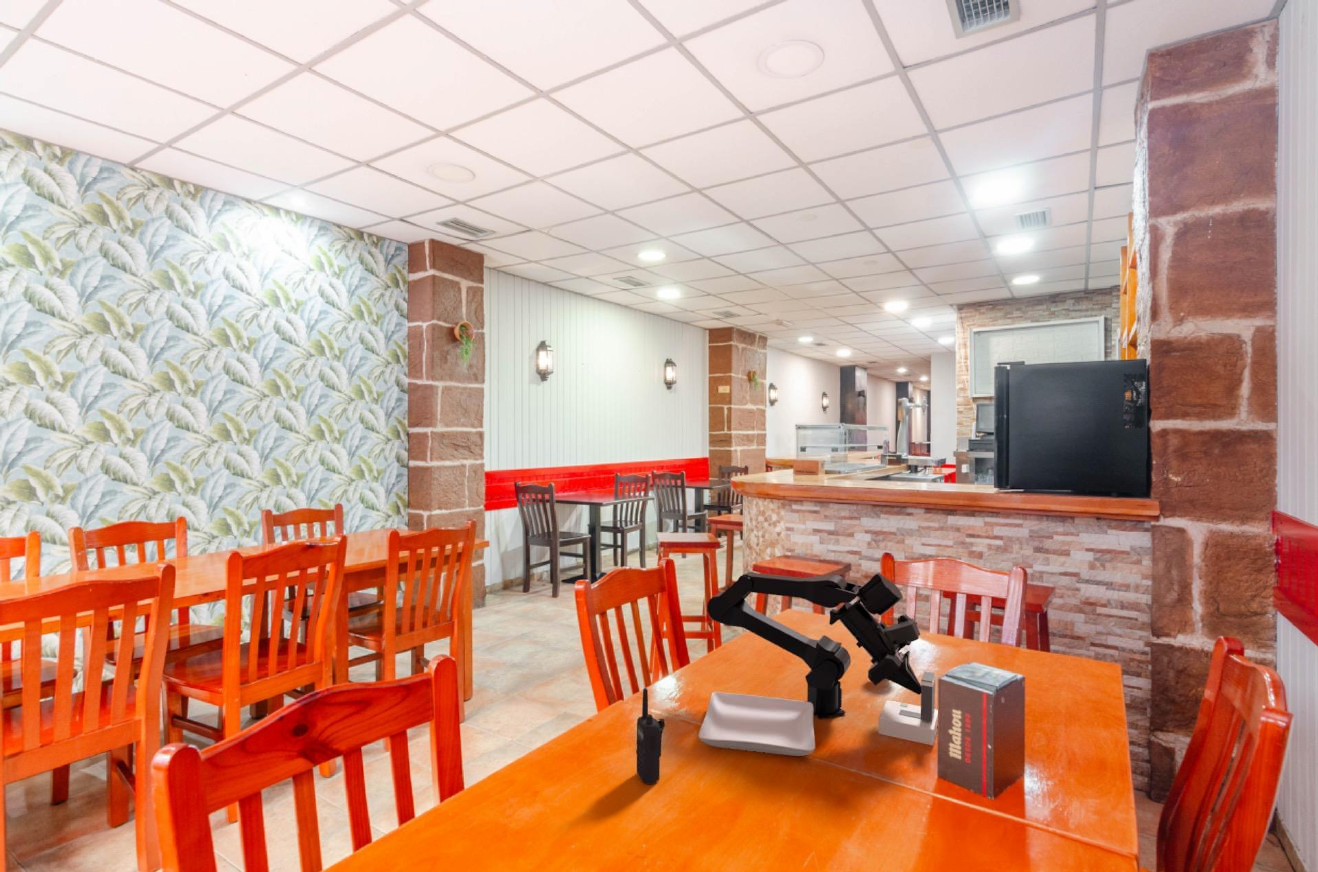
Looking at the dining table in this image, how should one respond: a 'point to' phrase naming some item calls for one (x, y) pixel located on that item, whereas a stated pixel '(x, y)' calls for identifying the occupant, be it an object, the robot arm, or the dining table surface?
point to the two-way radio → (648, 744)
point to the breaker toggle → (927, 696)
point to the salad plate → (759, 724)
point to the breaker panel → (907, 723)
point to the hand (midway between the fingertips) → (921, 692)
